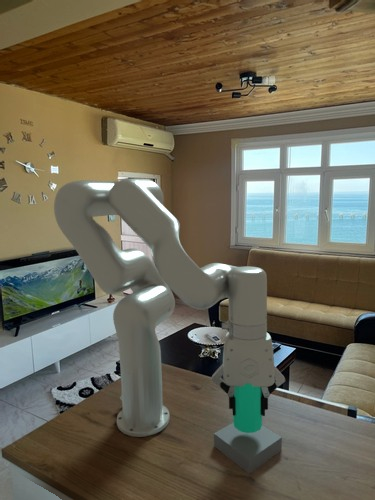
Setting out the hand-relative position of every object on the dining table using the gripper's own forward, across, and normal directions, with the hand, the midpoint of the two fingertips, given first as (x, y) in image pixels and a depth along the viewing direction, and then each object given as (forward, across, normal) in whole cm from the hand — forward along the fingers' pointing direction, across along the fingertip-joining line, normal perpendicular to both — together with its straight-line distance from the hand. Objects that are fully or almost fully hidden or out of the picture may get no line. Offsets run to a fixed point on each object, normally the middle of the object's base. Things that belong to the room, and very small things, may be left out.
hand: (248, 410), depth 75 cm
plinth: (+9, 0, 0) cm, 9 cm away
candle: (+3, 0, 0) cm, 3 cm away
